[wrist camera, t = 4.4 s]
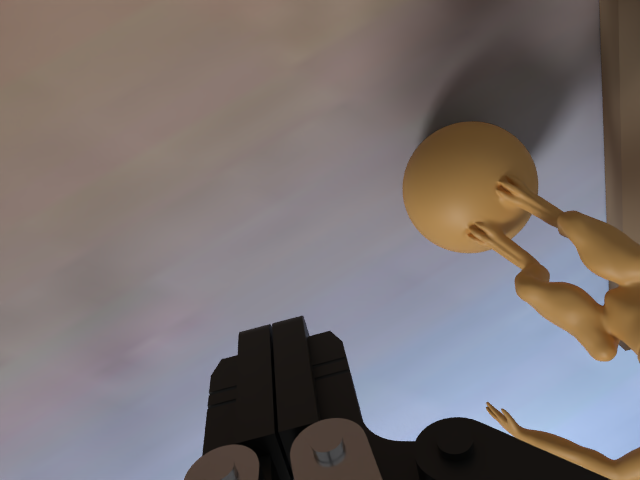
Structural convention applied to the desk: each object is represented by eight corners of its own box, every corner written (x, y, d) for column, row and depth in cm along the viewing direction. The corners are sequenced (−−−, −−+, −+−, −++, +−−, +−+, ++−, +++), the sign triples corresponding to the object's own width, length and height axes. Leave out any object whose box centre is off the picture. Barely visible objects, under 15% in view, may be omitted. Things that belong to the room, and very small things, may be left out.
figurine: (468, 23, 17) (829, 81, 7) (613, 113, 19) (1095, 278, 8) (338, 248, 20) (442, 559, 9) (476, 309, 22) (704, 635, 11)
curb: (595, -121, 16) (615, -127, 15) (636, -132, 16) (658, -139, 15) (610, 336, 23) (625, 350, 22) (639, 328, 23) (655, 342, 22)
